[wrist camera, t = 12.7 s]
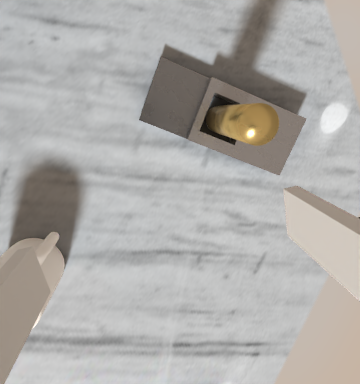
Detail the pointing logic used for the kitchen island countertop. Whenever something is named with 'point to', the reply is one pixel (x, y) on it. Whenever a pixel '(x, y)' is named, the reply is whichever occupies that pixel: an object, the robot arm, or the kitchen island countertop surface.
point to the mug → (42, 260)
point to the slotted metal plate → (197, 108)
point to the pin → (244, 122)
